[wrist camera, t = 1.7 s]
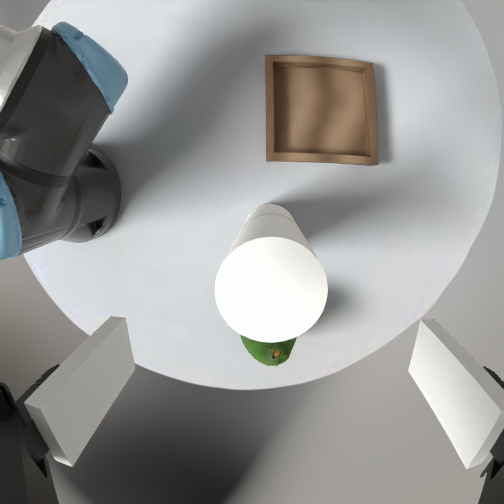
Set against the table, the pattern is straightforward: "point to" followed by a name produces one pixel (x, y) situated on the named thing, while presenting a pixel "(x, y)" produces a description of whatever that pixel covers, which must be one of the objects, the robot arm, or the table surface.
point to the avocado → (269, 350)
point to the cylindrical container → (271, 279)
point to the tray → (320, 110)
